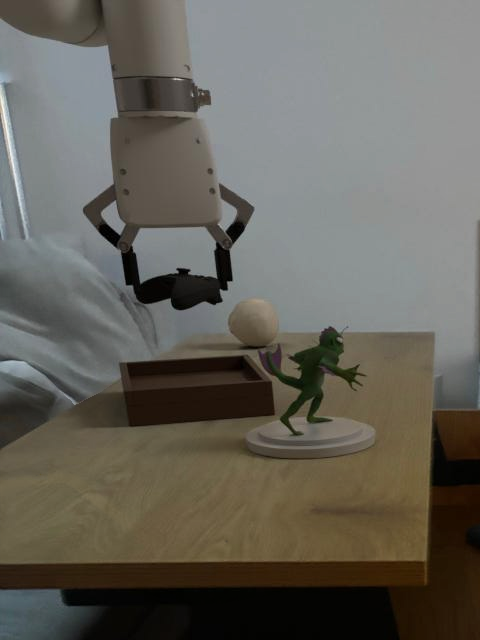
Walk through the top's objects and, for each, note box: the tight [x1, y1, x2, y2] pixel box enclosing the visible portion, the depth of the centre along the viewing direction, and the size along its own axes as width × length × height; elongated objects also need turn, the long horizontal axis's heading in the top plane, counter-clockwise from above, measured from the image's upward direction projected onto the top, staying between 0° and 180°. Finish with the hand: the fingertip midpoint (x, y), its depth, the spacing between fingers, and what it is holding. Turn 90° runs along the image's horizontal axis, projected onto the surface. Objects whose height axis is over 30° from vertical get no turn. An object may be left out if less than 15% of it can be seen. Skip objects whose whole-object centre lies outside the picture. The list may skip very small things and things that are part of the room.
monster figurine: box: [245, 325, 376, 459], centre depth 90 cm, size 12×12×10 cm
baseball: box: [227, 297, 280, 348], centre depth 143 cm, size 7×7×7 cm
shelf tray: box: [118, 354, 276, 427], centre depth 108 cm, size 15×18×4 cm
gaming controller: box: [135, 267, 224, 312], centre depth 104 cm, size 10×5×6 cm
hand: (180, 290), depth 103 cm, fingers closed on gaming controller, 8 cm apart
